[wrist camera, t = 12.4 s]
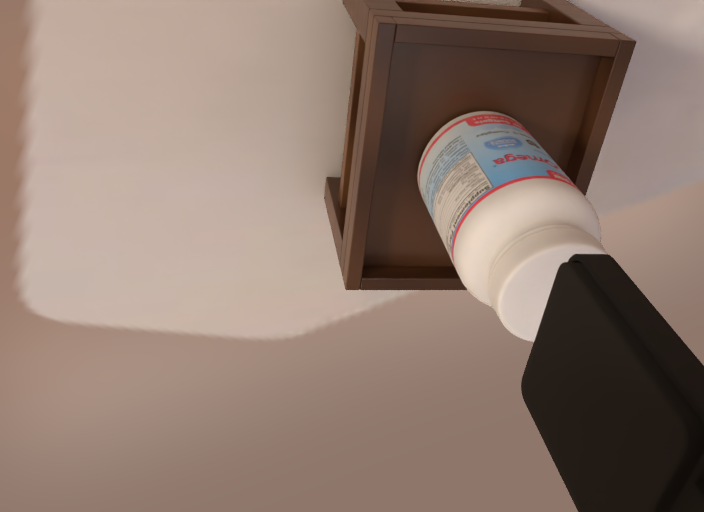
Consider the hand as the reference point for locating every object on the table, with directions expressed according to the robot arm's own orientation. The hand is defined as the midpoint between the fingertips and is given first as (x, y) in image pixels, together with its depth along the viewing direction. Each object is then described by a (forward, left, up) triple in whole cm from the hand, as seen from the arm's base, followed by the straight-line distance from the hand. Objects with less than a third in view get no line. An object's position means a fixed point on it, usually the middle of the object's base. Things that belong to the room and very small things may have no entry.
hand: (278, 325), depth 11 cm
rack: (-3, +13, -30) cm, 33 cm away
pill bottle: (-3, +13, -22) cm, 25 cm away
